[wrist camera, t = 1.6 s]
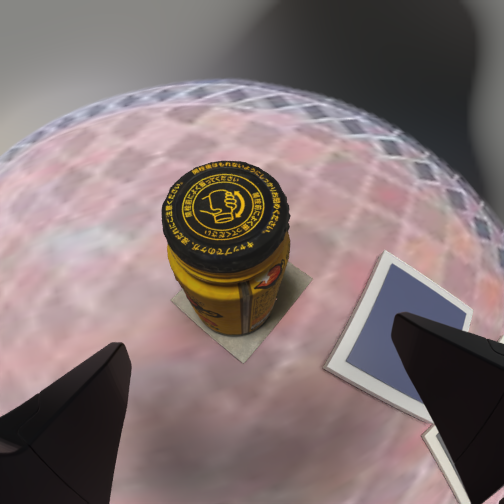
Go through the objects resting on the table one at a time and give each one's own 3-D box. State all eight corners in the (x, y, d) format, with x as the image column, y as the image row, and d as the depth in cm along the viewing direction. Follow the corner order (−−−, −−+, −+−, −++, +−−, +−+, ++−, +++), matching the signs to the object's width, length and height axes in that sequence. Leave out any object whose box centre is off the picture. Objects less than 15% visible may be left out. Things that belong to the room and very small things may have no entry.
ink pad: (427, 423, 17) (437, 423, 16) (322, 367, 19) (328, 366, 18) (465, 313, 21) (475, 309, 20) (379, 255, 24) (386, 248, 22)
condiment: (171, 301, 22) (109, 212, 11) (241, 228, 25) (242, 111, 14) (243, 364, 20) (244, 333, 9) (312, 280, 23) (366, 180, 12)
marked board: (465, 515, 11) (469, 517, 11) (421, 435, 17) (425, 436, 16) (535, 420, 15) (539, 419, 14) (500, 335, 20) (505, 334, 19)
